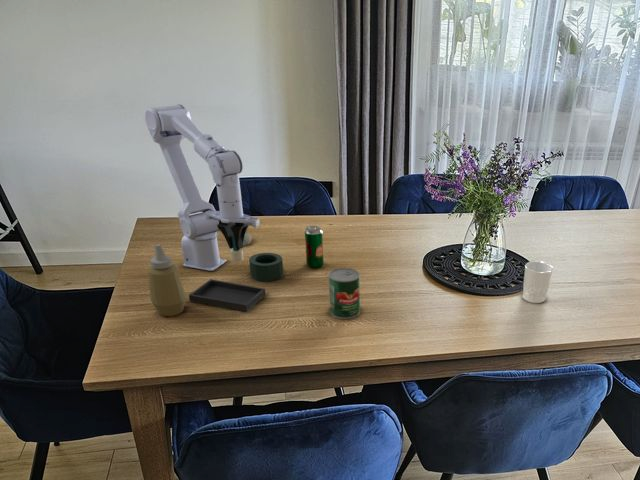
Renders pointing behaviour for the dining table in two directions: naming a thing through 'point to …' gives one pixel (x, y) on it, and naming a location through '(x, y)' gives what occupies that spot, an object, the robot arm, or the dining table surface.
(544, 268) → the white cup
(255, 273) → the jar
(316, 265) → the soda can
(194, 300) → the tray
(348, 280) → the canned tomato
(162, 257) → the squeeze bottle
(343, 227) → the dining table surface
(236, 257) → the teal peg on base
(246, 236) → the soupspoon
